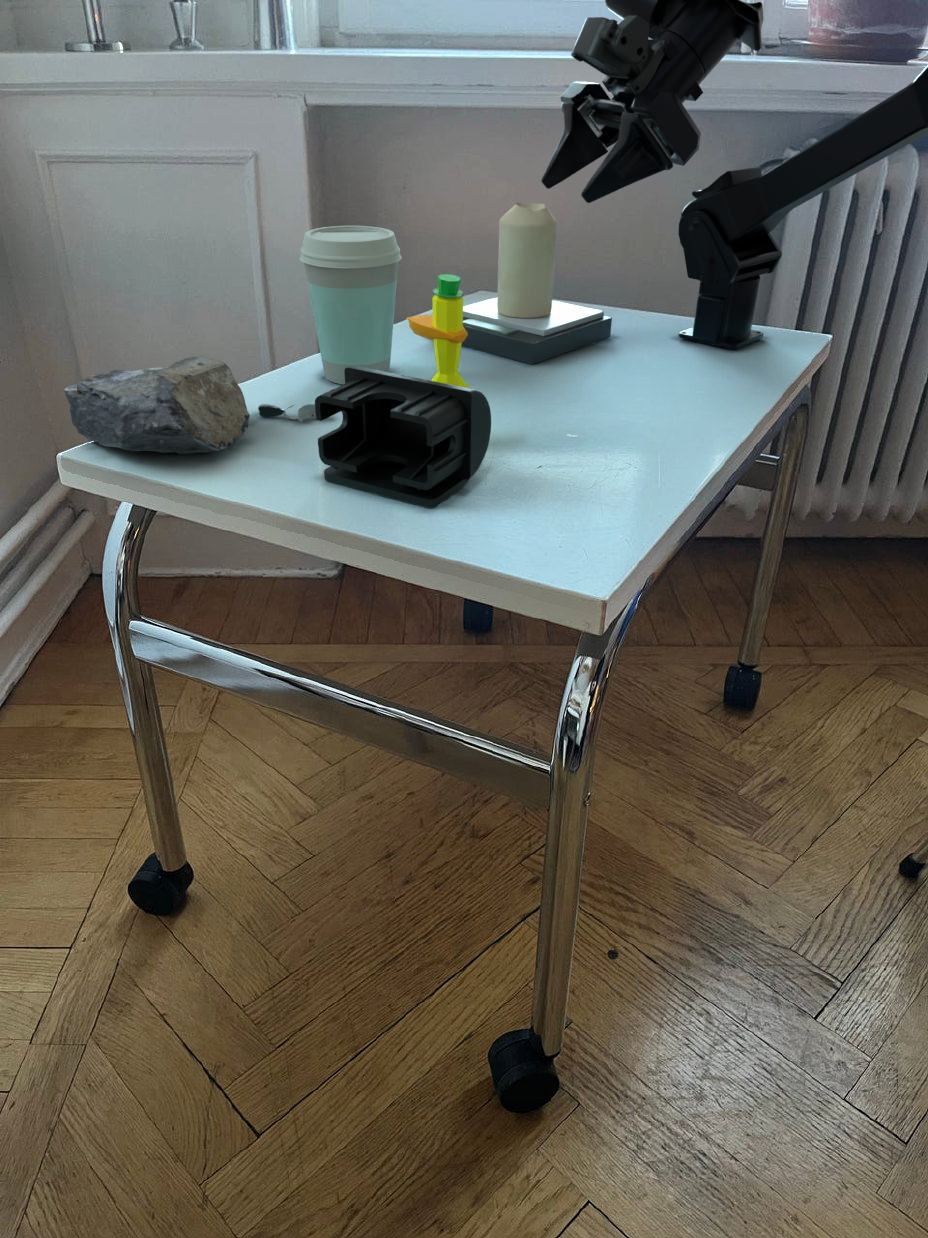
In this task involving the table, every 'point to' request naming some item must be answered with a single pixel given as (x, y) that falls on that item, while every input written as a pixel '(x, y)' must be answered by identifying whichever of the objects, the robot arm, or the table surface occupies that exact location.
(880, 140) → the robot arm
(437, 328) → the toy figure
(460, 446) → the end cap
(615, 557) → the table surface
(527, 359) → the scale
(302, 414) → the toy
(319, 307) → the coffee cup
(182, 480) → the table surface
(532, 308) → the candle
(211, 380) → the rock
